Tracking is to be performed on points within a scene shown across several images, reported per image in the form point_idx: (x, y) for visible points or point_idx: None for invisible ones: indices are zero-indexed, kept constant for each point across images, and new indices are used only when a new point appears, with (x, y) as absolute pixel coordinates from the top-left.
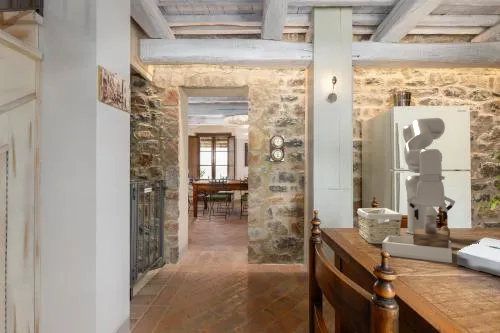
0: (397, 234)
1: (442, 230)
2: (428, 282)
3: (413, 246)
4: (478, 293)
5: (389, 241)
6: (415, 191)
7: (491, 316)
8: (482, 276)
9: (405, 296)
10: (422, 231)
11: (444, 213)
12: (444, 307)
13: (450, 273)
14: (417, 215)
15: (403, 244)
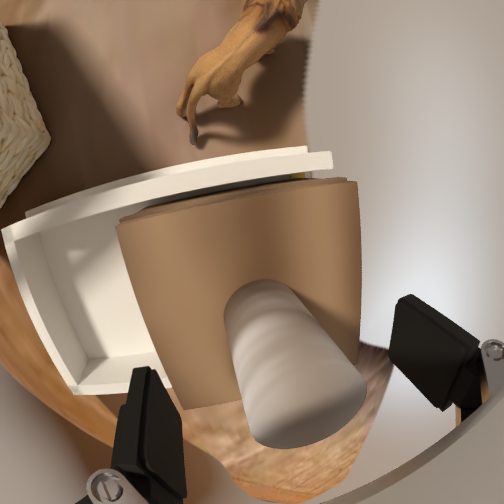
0: (21, 145)
1: (275, 8)
2: (278, 463)
3: None
4: (347, 446)
5: (36, 269)
6: None
7: (345, 473)
8: (374, 378)
9: (260, 496)
10: (202, 322)
11: (439, 397)
12: (304, 488)
13: None
14: (178, 455)
15: None
